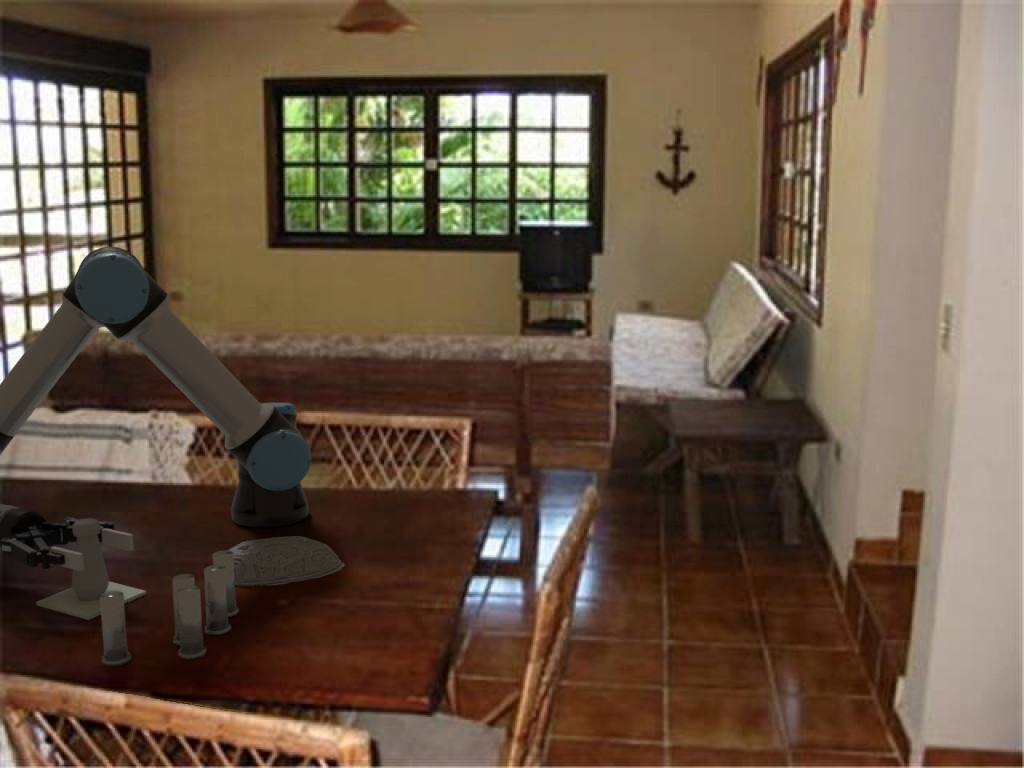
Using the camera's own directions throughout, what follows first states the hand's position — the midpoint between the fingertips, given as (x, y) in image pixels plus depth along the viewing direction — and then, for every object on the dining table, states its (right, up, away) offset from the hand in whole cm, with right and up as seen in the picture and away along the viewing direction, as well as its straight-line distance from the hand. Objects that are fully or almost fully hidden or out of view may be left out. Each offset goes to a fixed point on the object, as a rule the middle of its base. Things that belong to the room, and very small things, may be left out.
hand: (107, 552), depth 184 cm
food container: (+23, -6, +18) cm, 30 cm away
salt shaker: (-4, -8, +4) cm, 10 cm away
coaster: (-4, -8, +4) cm, 10 cm away
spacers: (+14, -11, -11) cm, 21 cm away
